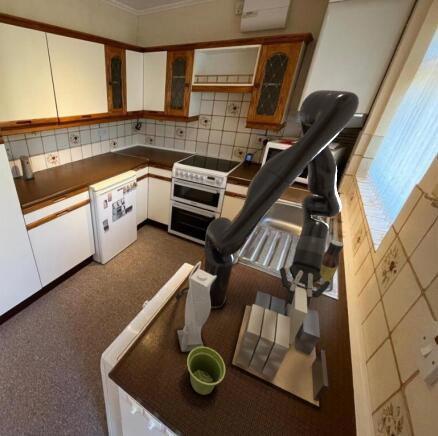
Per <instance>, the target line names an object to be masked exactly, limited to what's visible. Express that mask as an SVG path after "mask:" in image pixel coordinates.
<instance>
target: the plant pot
mask: <svg viewBox="0 0 438 436" xmlns="http://www.w3.org/2000/svg"><path fill="white" fill-rule="evenodd" d="M186 364H187V366H186V367H187V369H188V372H189V375H190V377H189V378H190V384H191V386H192V388H193V390H194V391H195V392H196V393H197V394H200V395H202V396H204V395H205V396H206V395H209V394H211V393H212V392H213V390H214V389H215V387H216V385H218V384H219V383H221V382H222V381H223V380H224V377H225V376H226V364H225V362H224V359H223V358H222V356H221V355H220V354H219V353H218V352H217V350H215V349H212V348H211V347H208V346H204V347H197V348H195V349H193V350H192V351H189V354H188V355H187V359H186Z"/></svg>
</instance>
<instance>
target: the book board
mask: <svg viewBox="0 0 438 436" xmlns="http://www.w3.org/2000/svg"><path fill="white" fill-rule="evenodd" d="M285 309H286V299H282V298H280V297H276V296H273V295H271V294H268V293H265V292H262V291H259V290H257V292H256V295H255V297H254V301H253V304H252V305H251V306H250V305H248V304H246V306H245V309H244V314H243V318H242V322H241V326H240V330H239V334H238V339H237V343H236V346H235V351H234V354H233V359H232V363H231V364H232V365H234V366H236V367H238V368H239V369H242V370H244V371H246V372H248V373H249V374H251V375H254V376H256V377H258V378H260V379H262V380H264V381H266V382H268V383H271V384H272V385H275V386H277V387H279V388H281V389H282V390H284V391H287V392H289V393H291V394H292V395H294V396H296V397H299V398H300V399H303V400H305V401H307V402H309V403H311V404H313V405H315V406H317V407H320V400H321V398H322V397H323V396H324V394H325V393H326V392H327V390H328V389H329V378H328V377H329V376H328V367H327V359H326V351H325V350H323V349H320V350H319V352H318V353H317V352H316V345H317V344H318V342H319V340H320V338H321V334H320V333H321V332H320V319H319V312H318V311H316V310H314V309H311V308H309V307H308V308H307V315H306V317H305V319H304V321H303V323H302V325H301V327H300V329H299V330H298V332H297V334H296V336H295V338H294V340H293V342H292V344H289V336H290V318H289V317H287V316H284V315H285Z"/></svg>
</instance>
